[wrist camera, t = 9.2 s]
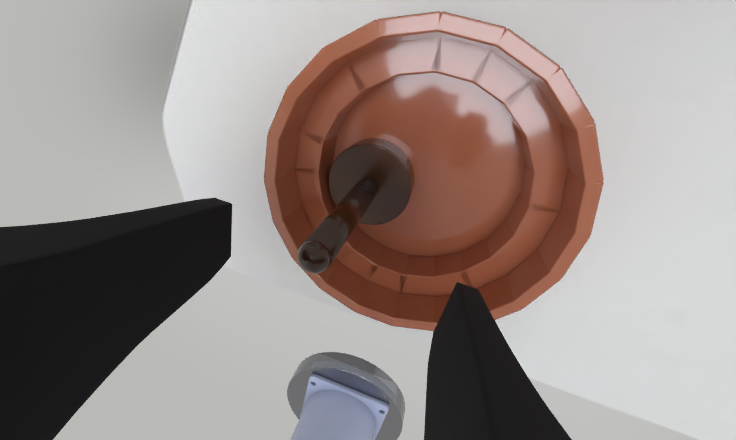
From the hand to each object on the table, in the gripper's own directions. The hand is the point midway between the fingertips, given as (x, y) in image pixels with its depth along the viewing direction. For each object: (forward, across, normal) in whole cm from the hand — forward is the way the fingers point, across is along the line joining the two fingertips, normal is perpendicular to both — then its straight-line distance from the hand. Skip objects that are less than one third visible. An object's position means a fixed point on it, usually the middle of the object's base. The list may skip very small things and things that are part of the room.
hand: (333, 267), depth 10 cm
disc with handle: (+10, +1, 0) cm, 10 cm away
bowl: (+10, -2, 0) cm, 10 cm away
